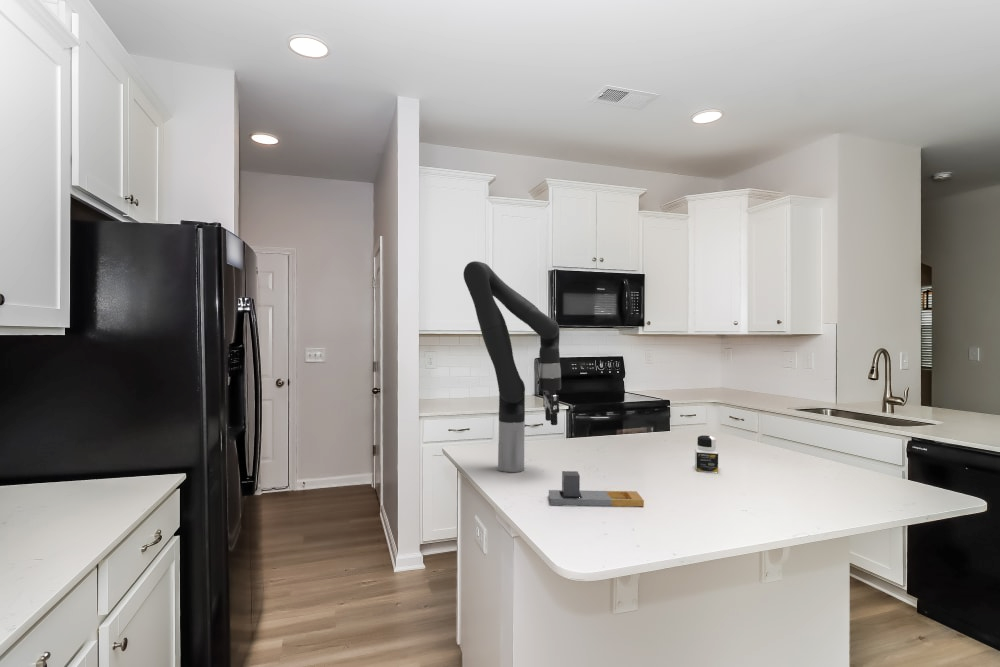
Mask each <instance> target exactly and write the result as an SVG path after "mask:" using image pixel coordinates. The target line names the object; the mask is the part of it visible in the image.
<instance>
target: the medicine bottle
mask: <svg viewBox="0 0 1000 667" xmlns="http://www.w3.org/2000/svg"><path fill="white" fill-rule="evenodd" d="M696 442H697V444H696V445H697V446H696V447H695V448H694V451H695V452H694V467H695V471H696V472H700V471H703V472H702V473H704V472H705V473H712V472H717V473H716V474H718V473H719V452H718V450H717V448H716V447H717V446H716V445H717V444H716V442H717V439H716V437H714V436H711V435H705V434H704V435H699V436H698V437H697V440H696Z"/></svg>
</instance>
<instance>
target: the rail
mask: <svg viewBox="0 0 1000 667" xmlns="http://www.w3.org/2000/svg"><path fill="white" fill-rule="evenodd" d="M579 497H580V498H562V489H549V490H548V499H550V500H549V502H550V503H551V504H550V506H563V505H585V506H584V507H628V506H644V505H645V503H644V502H645V499H643V498H642V496H641V495H640V493H639V492H638V491H636V490H635V491H633V490H629V491H628V490H621V491H620V490H580V496H579ZM627 498H628V499H627ZM644 507H645V506H644Z"/></svg>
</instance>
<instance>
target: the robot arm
mask: <svg viewBox="0 0 1000 667" xmlns="http://www.w3.org/2000/svg"><path fill="white" fill-rule="evenodd" d="M463 280H464V284H465V285H466V287H467V290H468V292H469V295H470V297H471V300H472V302H473V305H474V309H475V313H476V317H477V318H476V319H477V322H478V325H479V328H480V333H481V335H482V339H483V342H484V345H485V348H486V350H487V352H488V354H489V355H488V356H489V358H490V360H491V363H492V364H493V368H494V372H495V376H496V381H497V387H498V444H497V445H498V446H497V447H498V448H497V449H498V450H497V459H498V460H497V466H498V467H497V470H498V472H505V473H519V472H522V471H524V470H525V427H526V426H525V419H526V418H525V417H526V415H525V413H526V411H525V410H526V409H525V408H526V407H525V405H526V404H525V402H526V400H525V399H526V386H525V381H523V379H522V378H521V376H520V373H519V371H518V369H517V365H516V363H515V360H514V353H513V347H512V341H511V336H510V332H509V330H508V325H507V322H506V320H505V317H504V315H503V313H502V311H501V310H500V308H499V306H498V304H497V302H496V300H495V299H497V300H498V301H499V302H500V303H501V304H502V306H503V307H505V308H506V309H507V310H508V311H509V312H510V313H511V314H513V315H514V316H515V317H516V318H517V319H519V320H520V321H522V322H523V323H524V324H526V325H527V326H528V327H530V329H531V330H533V332H535V333H536V334H537V335H539V336H540V337H539V338H540V340H539V341H540V343H539V344H540V348H539V357H538V358H539V366H538V367H539V368H538V376H539V377H538V379H539V381H538V382H539V390H540V391H542V395H543V396H542V398H543V405H542V406H543V408H544V410H545V411H544V412H545V413H544V414H545V421H547V422H549V421H550V425H551V426H557V425H558V424H559V423H558V414H559V413H560V402H559V401H560V400H559V398H560V396H559V394H557V393H556V391H560V390H561V389H562V370H561V363H560V362H561V360H560V359H561V358H560V325H559V323H558V322H557V321H556V320H555V319H552V318H551V317H549V316H548V315H546V313H544V312H542V311H540V308H538V307H537V306H536V305H534V303H532V302H531V301H530V300H528V299H527V298H526V297H524V296H523V295H522V294H520V293H519V292H517V291H516V290H515V289H513V288H512V287H511V286H509V285H508V284H506V283H505V282H504V281H503V280H502V279H501V278H500V277H499V275H497V274H496V272H495V271H494V270H493V269H492V268H491V267H490V266H489V265H488V264H486V263H484V262H481V261H477V260H475V261H470V262H469V263H467V264H466V265H465V268H464V270H463Z"/></svg>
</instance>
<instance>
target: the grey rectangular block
mask: <svg viewBox="0 0 1000 667" xmlns="http://www.w3.org/2000/svg"><path fill="white" fill-rule="evenodd" d="M580 478H581V477H580V473H579V471H577V470H576V471H573V470H569V471H568V470H565V471H564V470H562V471H561V490H562V497H561V498H579V496H580V491H581V490H580V485H581V484H580V483H581V482H580V481H581V479H580Z"/></svg>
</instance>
